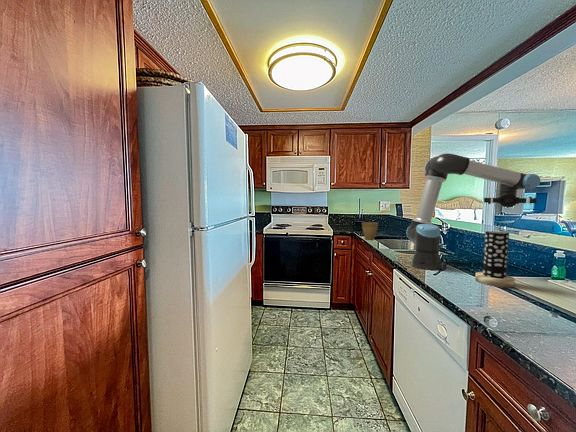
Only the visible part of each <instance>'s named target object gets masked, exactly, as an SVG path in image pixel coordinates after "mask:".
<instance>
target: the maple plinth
mask: <svg viewBox="0 0 576 432" xmlns="http://www.w3.org/2000/svg"><path fill="white" fill-rule="evenodd" d="M474 280H475V281H476V282H477V283H479V284H481V285H482V284H483V285H486V286H490V287H495V288H503V289H504V288H506V289H507V288H514V287H515V285H516V278H514V277H513V276H511V275H508V274H507V275H506V278H505V279H498V278H492V277H487V276H485V275H483V271H477V272H475V278H474Z"/></svg>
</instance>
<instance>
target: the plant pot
mask: <svg viewBox="0 0 576 432" xmlns="http://www.w3.org/2000/svg"><path fill="white" fill-rule="evenodd" d="M361 229H362V233H363V236H364V240H367V241H374V240H375V237H376V234H377V231H378V229H379V222H373V221H364V222H363V221H362V222H361Z"/></svg>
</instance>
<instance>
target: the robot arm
mask: <svg viewBox="0 0 576 432" xmlns="http://www.w3.org/2000/svg"><path fill="white" fill-rule="evenodd" d="M424 171H425V175H424V178H425V180H426V181H425V183H424V188H423V190H422V194H421V198H420V201H419V204H418V208H417V210H416V211H417V212H416V215H415V218H413V219H412V220H411V222H410V225H409V226H408V227H407V228H406V232H405V233H406V237H407V238H408V240H409V241H410V242H411V243H413V244H415V252H414V254H413V257H412V260H411V266H412V267H414V268H416V269H417V268H418V269H422V270H428V271H429V270H430V271H431V270H432V271H437V270H442V269H443V263H442V260H441V256H440V244H441V243H440V242H441V239H440V238H441V229H440V227H439V226H438V225H435V224H433V222H432V220H433V219H432V218H433V215H434V212H435V209H436V206H437V201H438V198H439V194H440V192H441V189H442V186H443V183H444V182H446V181H447V179H448V176H449V175H459V176H463V175H467V176H471V177H474V178H478V179H482V180H487V181H489V182H490V181H491V182H495V183H498V184H499V195H498V197H484V199H483V203H487V204H488V205H491V204H493V203H496V204H499V205H500V206H501V207H504V208H506V209H509V208H513V207H514V206H516V205H519V204H535V205H536V204H537V199H538V198H536V197H532V196H528V197H526V198H525V197H517V193H518V190H530V189H535V188H537V187H538V186H540V183H541V178H540V176H539V175H538V174H535V173H522V172H518V171H515V170H510V169H507V168H506V169H505V168H503V167H499V166H494V165H490V164H486V163H484V162H483V163H482V162H480V161H474V160H471V159H470V157H466V156H463V155H458V154H456V153H455V154H454V153H441V154H439V155H437V156H433V157H431V158H429V160H428V161H427V162H426V163H425V164H424Z"/></svg>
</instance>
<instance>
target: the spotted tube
mask: <svg viewBox="0 0 576 432" xmlns="http://www.w3.org/2000/svg"><path fill="white" fill-rule="evenodd" d="M484 233H485V234H484V251H483V266H482V267H483V268H482V269H483V270H482V272H483V275H485V276H487V277H492V278H498V279H505V278H506V275H508V274H507V272H508V257H509V243H510V242H509V241H510V233H509V232H505V231H494V230H493V231H492V230H491V231H490V230H487V231H485V232H484Z"/></svg>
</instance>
